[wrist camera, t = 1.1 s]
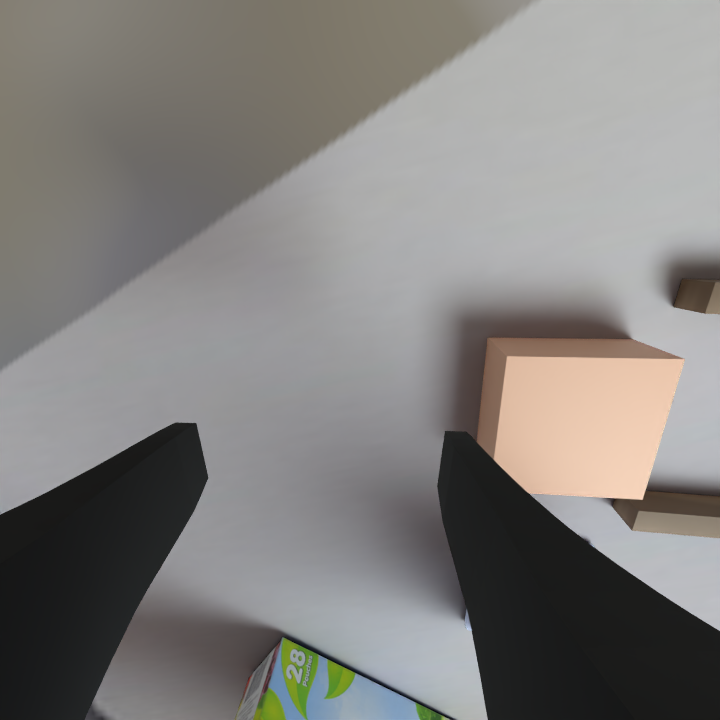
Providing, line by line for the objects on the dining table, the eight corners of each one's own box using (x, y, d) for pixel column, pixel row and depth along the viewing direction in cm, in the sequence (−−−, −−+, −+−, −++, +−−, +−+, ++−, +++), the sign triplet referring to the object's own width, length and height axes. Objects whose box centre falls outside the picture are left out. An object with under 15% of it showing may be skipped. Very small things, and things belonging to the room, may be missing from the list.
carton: (600, 456, 22) (642, 499, 18) (474, 451, 23) (489, 491, 19) (629, 338, 19) (684, 359, 16) (486, 336, 20) (506, 356, 17)
